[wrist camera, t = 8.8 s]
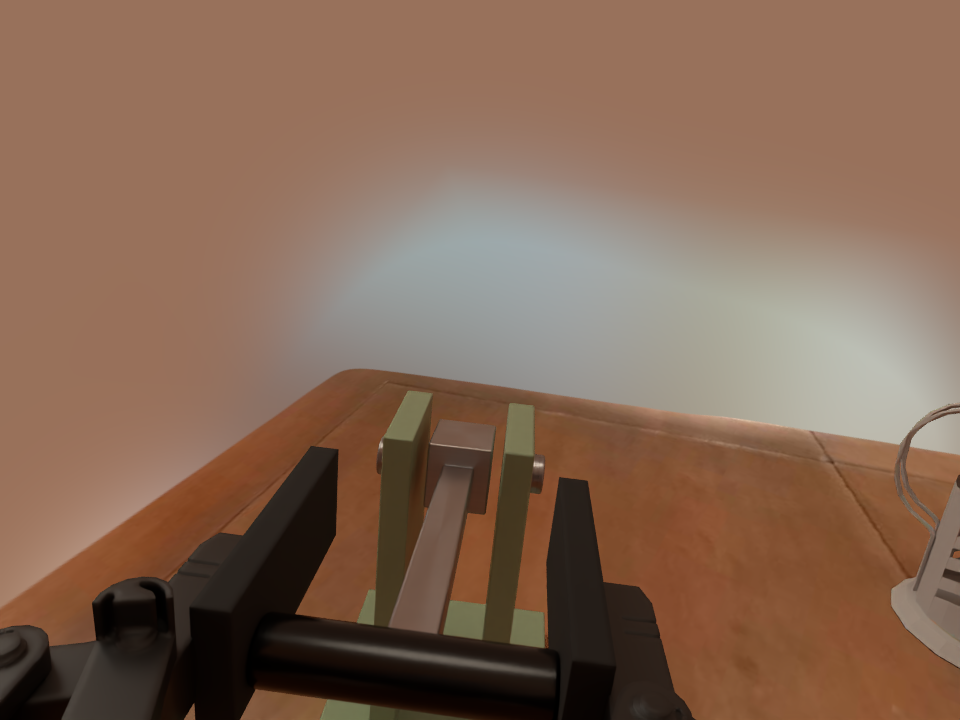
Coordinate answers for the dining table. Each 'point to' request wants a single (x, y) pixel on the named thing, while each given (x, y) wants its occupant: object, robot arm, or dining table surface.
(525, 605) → the dining table surface
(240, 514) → the dining table surface
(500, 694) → the lever
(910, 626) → the french press
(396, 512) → the bracket
